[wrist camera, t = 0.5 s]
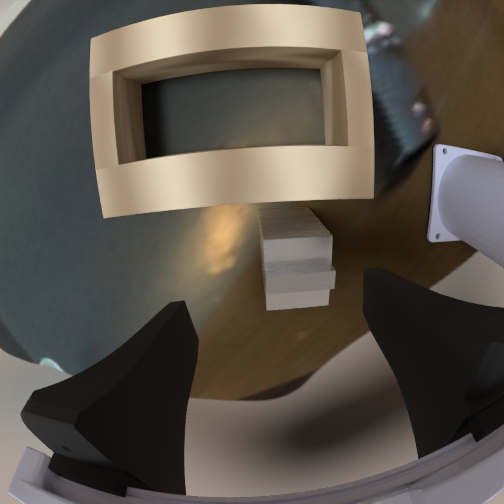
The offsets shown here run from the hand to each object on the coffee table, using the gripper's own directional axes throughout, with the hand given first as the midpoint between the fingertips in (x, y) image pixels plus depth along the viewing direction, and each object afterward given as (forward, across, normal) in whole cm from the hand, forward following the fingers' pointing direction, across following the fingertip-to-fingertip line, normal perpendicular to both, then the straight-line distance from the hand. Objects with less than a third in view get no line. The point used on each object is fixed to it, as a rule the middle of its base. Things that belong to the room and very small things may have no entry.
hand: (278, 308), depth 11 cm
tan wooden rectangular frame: (+9, +1, -9) cm, 13 cm away
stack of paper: (+9, -1, +1) cm, 9 cm away
